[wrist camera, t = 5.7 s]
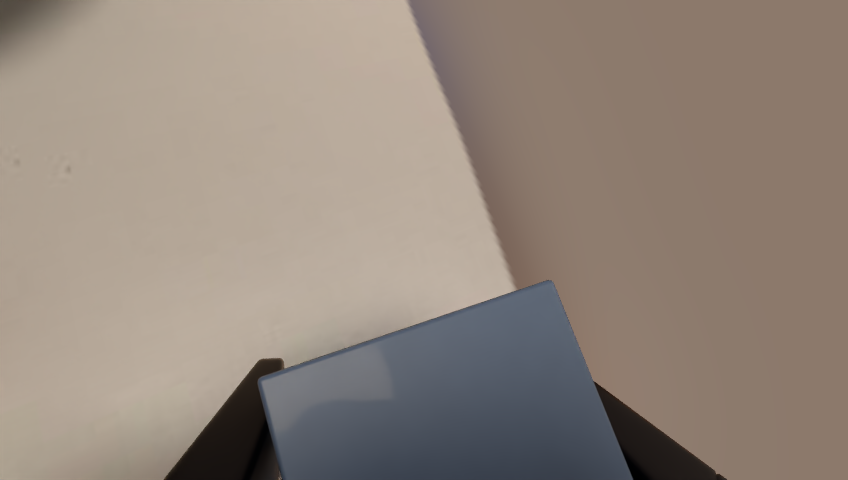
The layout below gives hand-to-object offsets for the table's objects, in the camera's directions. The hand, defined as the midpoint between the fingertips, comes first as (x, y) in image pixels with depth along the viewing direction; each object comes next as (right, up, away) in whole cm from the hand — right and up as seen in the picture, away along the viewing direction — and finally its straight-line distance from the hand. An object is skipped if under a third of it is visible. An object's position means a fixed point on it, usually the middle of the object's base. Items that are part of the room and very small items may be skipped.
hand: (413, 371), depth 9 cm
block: (-1, -3, +6) cm, 7 cm away
